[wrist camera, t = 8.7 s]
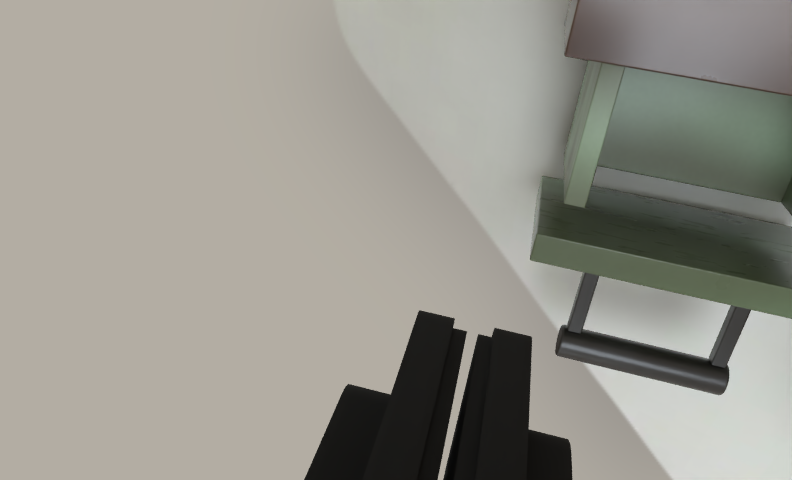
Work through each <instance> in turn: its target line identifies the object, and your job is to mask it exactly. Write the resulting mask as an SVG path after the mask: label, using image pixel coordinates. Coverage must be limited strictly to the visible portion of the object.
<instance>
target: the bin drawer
mask: <svg viewBox="0 0 792 480" xmlns="http://www.w3.org/2000/svg"><path fill="white" fill-rule="evenodd" d="M597 166H601V167H606V168H611V169H616V170H621V171H626V172H631V173H636V174H641V175H646V176H651V177H656V178H661V179H666V180H671V181H676V182H681V183H686V184H691V185H696V186H702V187H707V188H712V189H717V190H722V191H727V192H732V193H737V194H742V195H747V196H752V197H757V198H762V199H767V200H772V201H777V202H782V204H783V205H784V206H785V208H786V209H787V210H788V211H789V213H790V214H791V215H792V96H787V95H781V94H775V93H770V92H764V91H758V90H753V89H747V88H741V87H736V86H730V85H724V84H719V83H713V82H707V81H702V80H696V79H690V78H685V77H679V76H673V75H668V74H662V73H656V72H651V71H645V70H639V69H634V68H628V67H622V66H617V65H611V64H606V63H600V62H594V61H589V60H588V64H587V68H586V72H585V75H584V79H583V83H582V87H581V91H580V95H579V98H578V102H577V106H576V110H575V114H574V118H573V121H572V125H571V129H570V133H569V137H568V141H567V145H566V148H565V152H564V180H561V179H556V178H551V177H546V176H542V179H541V183H540V187H539V191H538V195H537V200H536V209H535V218H534V227H533V236H532V245H531V254H530V260H532V261H536V262H541V263H545V264H549V265H554V266H558V267H563V268H567V269H572V270H576V271H581V272H583V274H582V277H581V281H580V284H579V287H578V291H577V294H576V297H575V301H574V304H573V307H572V311H571V314H570V317H569V321H568V325H562V326H561V328H560V330H559V334H558V338H557V343H556V350H555V352H556V355H557V356H561V357H565V358H569V359H573V360H577V361H581V362H585V363H589V364H593V365H597V366H601V367H605V368H610V369H614V370H618V371H622V372H626V373H630V374H634V375H638V376H642V377H646V378H651V379H655V380H659V381H663V382H667V383H671V384H675V385H679V386H683V387H687V388H692V389H696V390H700V391H704V392H708V393H712V394H716V395H721V394H723V393H724V391H725V390H726V387H727V385H728V381H729V367H728V365H727V363H728V361H729V359H730V356H731V354H732V352H733V350H734V347H735V345H736V343H737V341H738V338H739V336H740V334H741V332H742V329H743V327H744V325H745V322H746V320H747V318H748V316H749V313H750V311H751V310H755V311H759V312H764V313H768V314H773V315H777V316H782V317H786V318H791V319H792V227H791V226H786V225H781V224H776V223H771V222H766V221H761V220H756V219H751V218H747V217H742V216H737V215H732V214H727V213H722V212H717V211H712V210H707V209H702V208H698V207H693V206H688V205H683V204H678V203H673V202H668V201H663V200H658V199H654V198H649V197H644V196H639V195H634V194H629V193H624V192H619V191H614V190H610V189H605V188H600V187H595V186H591V185H592V182H593V178H594V175H595V171H596V168H597ZM599 276H603V277H608V278H612V279H616V280H621V281H625V282H630V283H634V284H639V285H643V286H648V287H652V288H657V289H661V290H666V291H670V292H675V293H679V294H683V295H688V296H692V297H697V298H701V299H706V300H710V301H715V302H719V303H724V304H728V305H731V307H730V309H729V311H728V314H727V316H726V318H725V321H724V323H723V325H722V328H721V330H720V332H719V335H718V337H717V339H716V342H715V344H714V347H713V349H712V351H711V354H710V356H709V359H707V358H703V357H699V356H694V355H690V354H686V353H682V352H678V351H673V350H669V349H665V348H661V347H656V346H652V345H648V344H644V343H640V342H635V341H631V340H627V339H623V338H618V337H614V336H610V335H606V334H601V333H597V332H593V331H589V330H585V329H583V326H584V323H585V320H586V317H587V313H588V310H589V307H590V304H591V301H592V297H593V294H594V291H595V288H596V285H597V281H598V278H599Z"/></svg>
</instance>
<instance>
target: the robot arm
mask: <svg viewBox="0 0 792 480" xmlns="http://www.w3.org/2000/svg"><path fill="white" fill-rule="evenodd" d="M454 320H455V319H454V318H450V317H446V316H442V315H437V314H433V313H428V312H424V311H419V312H418V315H417V318H416V321H415V324H414V327H413V330H412V333H411V336H410V339H409V342H408V345H407V348H406V351H405V354H404V357H403V360H402V363H401V366H400V369H399V372H398V375H397V378H396V381H395V384H394V387H393V390H392V393H391V395H390V394H386V393H382V392H378V391H374V390H370V389H366V388H362V387H358V386H354V385H349V384H348V385H347V386H346V387H345V389H344V391H343V393H342V395H341V397H340V400H339V402H338V404H337V406H336V409H335V411H334V413H333V416H332V418H331V420H330V422H329V425H328V427H327V429H326V432H325V434H324V436H323V438H322V441H321V443H320V445H319V448H318V450H317V452H316V454H315V457H314V459H313V461H312V464H311V466H310V468H309V470H308V473H307V475H306V477H305V479H304V480H437V479H438V474H439V469H440V464H441V459H442V454H443V449H444V444H445V439H446V434H447V429H448V424H449V419H450V414H451V409H452V404H453V399H454V393H455V388H456V384H457V379H458V374H459V369H460V364H461V359H462V353H463V349H464V344H465V338H466V333H467V332H466V331H463V330H459V329H454V328H453V325H454ZM531 351H532V337H531V336H527V335H523V334H518V333H514V332H510V331H506V330H501V329H497V328H495V329H494V332H493V335H492V337H488V336H484V335H478V337H477V342H476V345H475V349H474V354H473V358H472V362H471V366H470V370H469V374H468V379H467V383H466V387H465V391H464V395H463V399H462V403H461V408H460V412H459V416H458V420H457V424H456V429H455V432H454V437H453V441H452V445H451V449H450V453H449V458H448V462H447V466H446V470H445V475H444V479H443V480H572V461H571V447H570V442H569V440H568V439H565V438H560V437H557V436H553V435H548V434H545V433H541V432H537V431H532V430H529V429H528V427H529V402H530V376H531V374H530V373H531Z"/></svg>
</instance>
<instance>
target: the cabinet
mask: <svg viewBox="0 0 792 480" xmlns="http://www.w3.org/2000/svg"><path fill="white" fill-rule="evenodd" d="M564 54H565V56H566V57H572V58H577V59H583V60H589V61H594V62H600V63H606V64H611V65H617V66H622V67H628V68H634V69H639V70H645V71H651V72H656V73H662V74H668V75H673V76H679V77H685V78H690V79H696V80H702V81H707V82H713V83H719V84H724V85H730V86H736V87H741V88H747V89H753V90H758V91H764V92H770V93H775V94H781V95H787V96H792V0H570V3H569V8H568V12H567V16H566V20H565V51H564Z"/></svg>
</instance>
